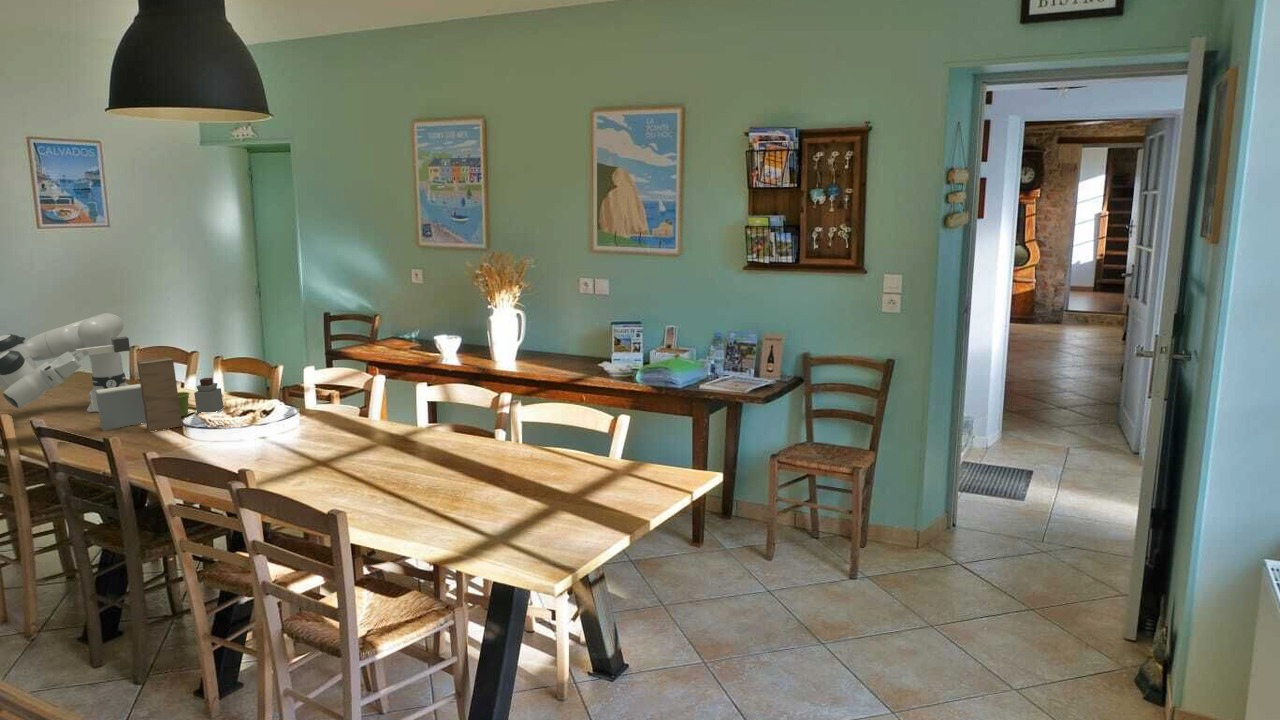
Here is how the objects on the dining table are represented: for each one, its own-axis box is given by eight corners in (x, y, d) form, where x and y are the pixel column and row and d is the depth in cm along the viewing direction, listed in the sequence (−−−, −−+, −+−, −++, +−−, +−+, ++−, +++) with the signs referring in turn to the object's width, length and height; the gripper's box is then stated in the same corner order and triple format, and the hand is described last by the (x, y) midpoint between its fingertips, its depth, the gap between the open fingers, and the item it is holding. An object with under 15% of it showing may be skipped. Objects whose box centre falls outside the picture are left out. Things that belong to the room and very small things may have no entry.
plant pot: (161, 419, 362) (158, 397, 361) (173, 413, 372) (170, 392, 370) (186, 418, 363) (183, 397, 361) (196, 412, 372) (193, 391, 370)
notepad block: (101, 426, 354) (95, 390, 351) (147, 419, 363) (142, 383, 360) (103, 430, 348) (97, 393, 346) (150, 422, 358) (145, 386, 355)
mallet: (77, 357, 336) (76, 344, 335) (76, 355, 340) (74, 342, 339) (130, 350, 346) (128, 338, 346) (127, 348, 350) (126, 336, 349)
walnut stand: (146, 428, 350) (136, 360, 345) (178, 422, 356) (169, 356, 351) (150, 432, 343) (140, 364, 338) (182, 426, 350) (173, 359, 345)
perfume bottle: (225, 422, 354) (219, 376, 351) (215, 427, 348) (209, 380, 344) (208, 422, 355) (202, 376, 351) (198, 427, 348) (192, 380, 345)
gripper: (54, 375, 344) (88, 353, 349) (61, 384, 328) (96, 361, 334) (42, 362, 341) (76, 340, 346) (48, 371, 325) (84, 347, 331)
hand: (86, 350), depth 340 cm, fingers closed on mallet, 2 cm apart
